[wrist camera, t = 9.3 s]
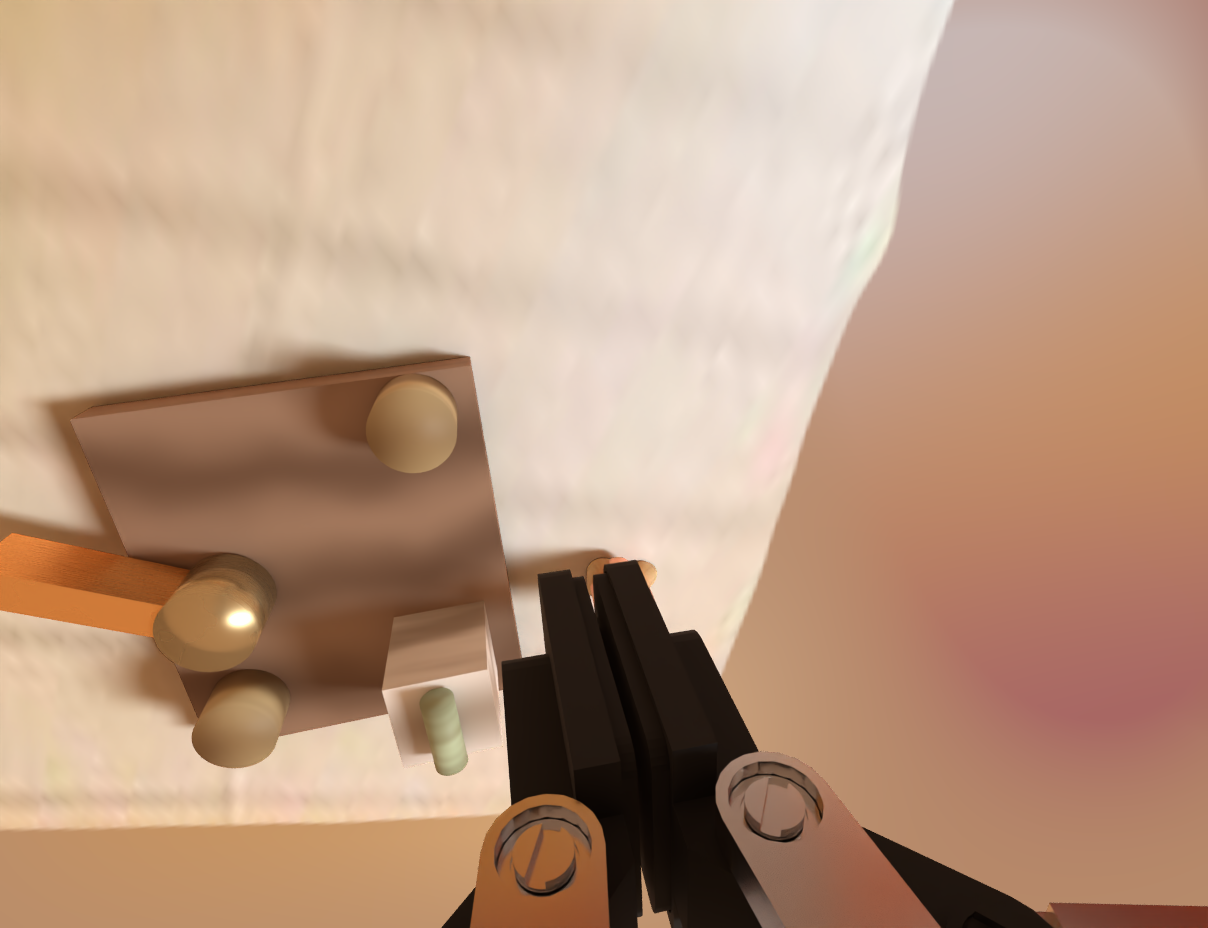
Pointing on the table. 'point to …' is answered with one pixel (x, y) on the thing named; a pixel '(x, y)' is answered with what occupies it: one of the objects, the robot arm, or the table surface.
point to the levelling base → (329, 550)
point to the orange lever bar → (143, 598)
